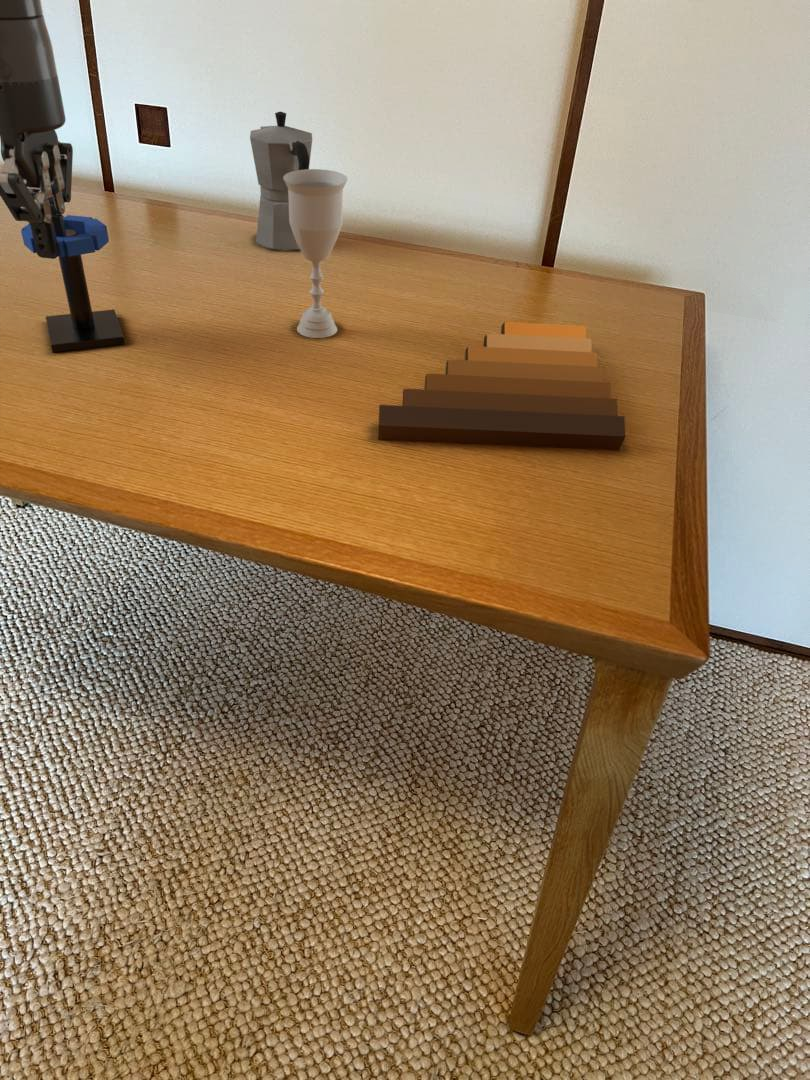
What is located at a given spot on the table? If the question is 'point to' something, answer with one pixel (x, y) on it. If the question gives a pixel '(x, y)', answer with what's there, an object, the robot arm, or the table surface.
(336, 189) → the chalice
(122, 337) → the black peg stand
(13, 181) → the robot arm
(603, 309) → the table surface
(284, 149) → the coffeepot
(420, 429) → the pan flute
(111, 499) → the table surface
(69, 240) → the ring
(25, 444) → the table surface
